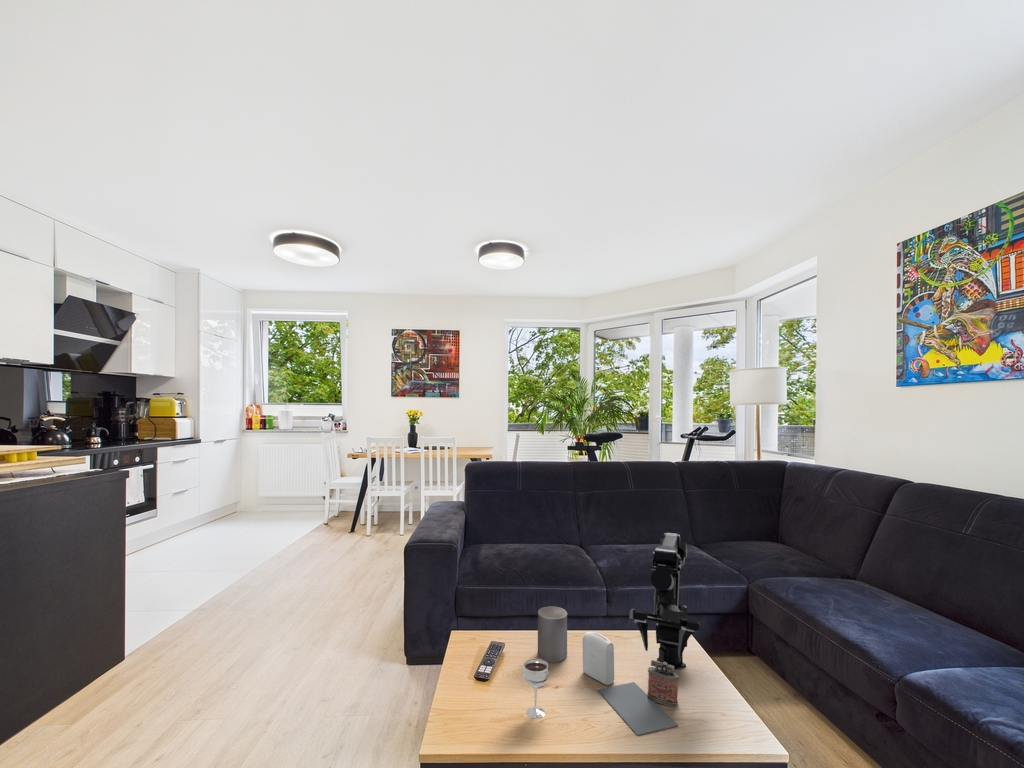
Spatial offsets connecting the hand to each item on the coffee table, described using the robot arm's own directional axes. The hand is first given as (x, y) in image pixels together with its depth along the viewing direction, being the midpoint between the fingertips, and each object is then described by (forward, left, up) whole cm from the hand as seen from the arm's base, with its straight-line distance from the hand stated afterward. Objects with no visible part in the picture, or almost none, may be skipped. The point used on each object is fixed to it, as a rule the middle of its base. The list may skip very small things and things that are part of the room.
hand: (663, 654), depth 130 cm
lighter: (+1, +1, -12) cm, 12 cm away
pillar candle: (+20, -31, -12) cm, 39 cm away
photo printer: (+12, -15, -12) cm, 23 cm away
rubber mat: (+10, +1, -12) cm, 15 cm away
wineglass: (+36, -5, -12) cm, 38 cm away
